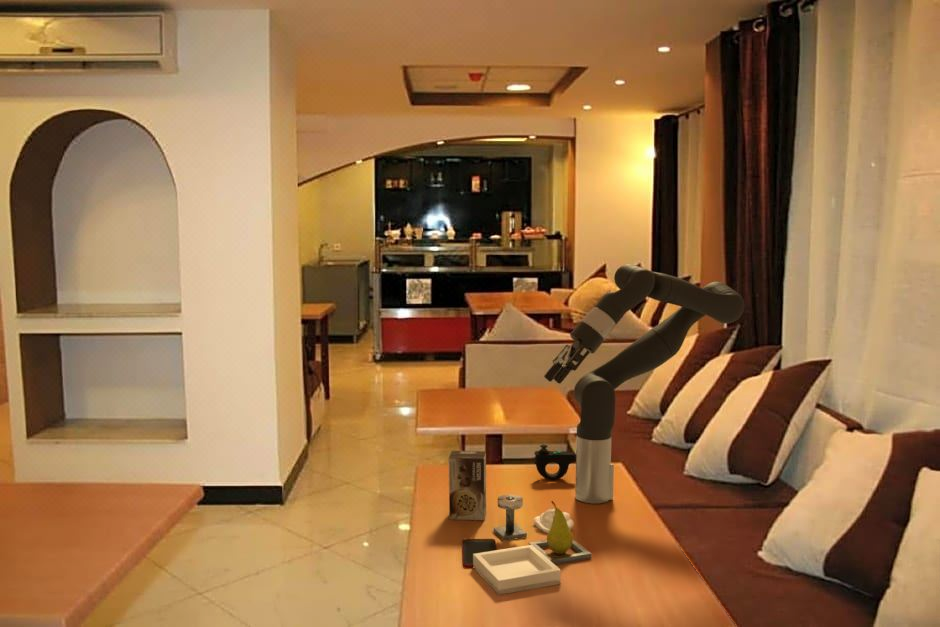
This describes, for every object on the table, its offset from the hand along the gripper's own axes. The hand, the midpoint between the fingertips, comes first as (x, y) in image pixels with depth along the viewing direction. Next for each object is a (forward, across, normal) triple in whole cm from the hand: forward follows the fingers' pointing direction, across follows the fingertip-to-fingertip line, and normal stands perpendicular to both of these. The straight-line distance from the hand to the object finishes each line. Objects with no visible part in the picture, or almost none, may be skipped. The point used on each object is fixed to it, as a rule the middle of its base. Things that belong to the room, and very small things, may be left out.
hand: (551, 380), depth 203 cm
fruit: (+30, -14, -24) cm, 41 cm away
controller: (+16, +36, -28) cm, 49 cm away
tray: (+39, -24, -15) cm, 48 cm away
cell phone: (+42, -12, -10) cm, 45 cm away
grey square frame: (+30, -14, -24) cm, 41 cm away
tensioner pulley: (+35, -2, -16) cm, 38 cm away
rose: (+27, +1, -24) cm, 36 cm away
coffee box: (+39, +12, -9) cm, 41 cm away
